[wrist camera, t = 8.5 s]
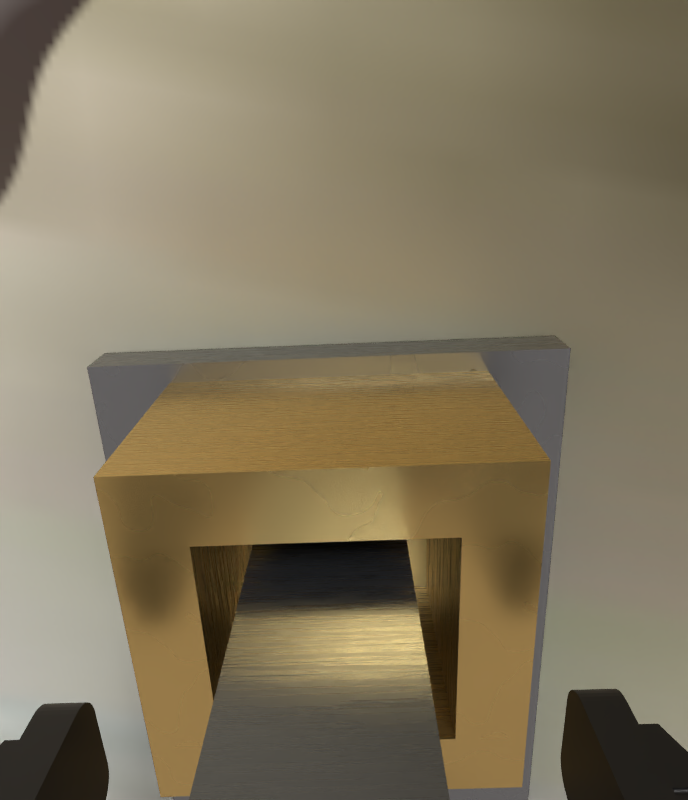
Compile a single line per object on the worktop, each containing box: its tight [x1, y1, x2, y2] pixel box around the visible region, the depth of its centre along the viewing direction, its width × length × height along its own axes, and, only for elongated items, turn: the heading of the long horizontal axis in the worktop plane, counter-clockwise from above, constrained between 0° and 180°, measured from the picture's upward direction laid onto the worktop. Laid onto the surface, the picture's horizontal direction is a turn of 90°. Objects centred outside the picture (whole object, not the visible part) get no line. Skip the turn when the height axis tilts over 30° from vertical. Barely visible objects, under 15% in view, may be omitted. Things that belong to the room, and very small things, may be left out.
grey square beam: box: [189, 539, 450, 800], centre depth 11 cm, size 3×3×12 cm
